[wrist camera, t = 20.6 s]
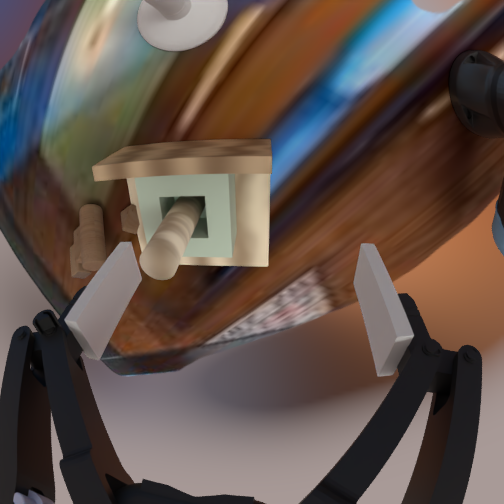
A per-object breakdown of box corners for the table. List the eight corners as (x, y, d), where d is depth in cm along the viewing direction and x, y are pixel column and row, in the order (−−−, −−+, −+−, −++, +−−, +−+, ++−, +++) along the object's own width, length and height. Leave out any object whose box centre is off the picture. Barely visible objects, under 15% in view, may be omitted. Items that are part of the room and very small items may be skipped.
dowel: (205, 187, 40) (173, 248, 27) (207, 212, 43) (179, 281, 29) (178, 187, 41) (135, 247, 27) (181, 212, 43) (144, 278, 30)
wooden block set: (88, 244, 53) (93, 292, 49) (53, 236, 45) (55, 288, 42) (143, 200, 46) (152, 255, 43) (104, 183, 39) (108, 245, 35)
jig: (270, 139, 38) (272, 156, 30) (268, 263, 50) (268, 303, 42) (124, 146, 39) (91, 166, 31) (146, 260, 51) (126, 296, 42)
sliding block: (234, 157, 39) (228, 172, 33) (236, 232, 46) (232, 257, 40) (153, 160, 39) (134, 176, 34) (163, 231, 46) (149, 255, 40)
